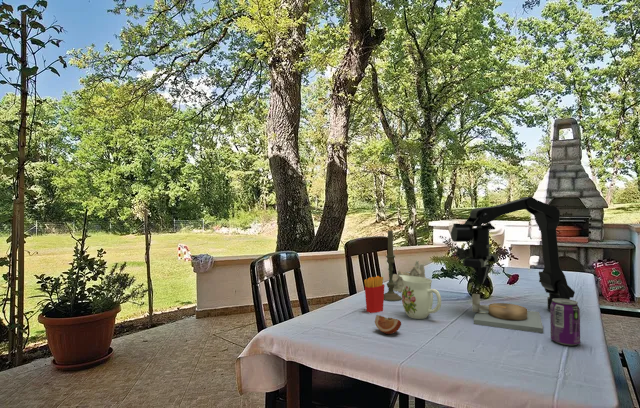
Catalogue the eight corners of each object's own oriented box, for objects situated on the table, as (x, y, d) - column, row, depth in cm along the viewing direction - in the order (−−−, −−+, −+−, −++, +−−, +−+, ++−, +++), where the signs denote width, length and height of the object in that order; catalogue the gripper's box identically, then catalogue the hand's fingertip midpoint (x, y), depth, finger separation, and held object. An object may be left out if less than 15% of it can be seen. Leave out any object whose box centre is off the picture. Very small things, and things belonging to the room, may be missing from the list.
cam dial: (524, 311, 129) (524, 294, 129) (530, 321, 118) (530, 302, 118) (471, 307, 135) (471, 290, 135) (472, 316, 124) (472, 298, 124)
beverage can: (585, 348, 100) (584, 304, 100) (557, 346, 102) (556, 303, 102) (573, 338, 107) (572, 298, 107) (546, 337, 109) (546, 297, 109)
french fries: (378, 307, 142) (378, 274, 143) (387, 309, 139) (386, 276, 139) (361, 311, 137) (361, 277, 137) (369, 314, 133) (369, 279, 134)
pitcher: (430, 326, 119) (430, 284, 120) (390, 313, 134) (389, 276, 134) (450, 320, 126) (450, 280, 126) (409, 308, 140) (409, 273, 141)
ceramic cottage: (433, 288, 175) (430, 257, 175) (418, 296, 162) (415, 263, 163) (403, 286, 185) (401, 257, 185) (388, 293, 172) (385, 262, 173)
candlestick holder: (404, 297, 158) (404, 229, 158) (397, 302, 150) (396, 230, 151) (385, 295, 163) (384, 228, 163) (376, 299, 155) (376, 229, 155)
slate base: (539, 316, 130) (539, 311, 130) (543, 333, 112) (543, 328, 112) (475, 308, 140) (475, 304, 140) (470, 323, 122) (470, 318, 122)
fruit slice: (371, 332, 114) (370, 316, 114) (383, 327, 119) (383, 311, 119) (393, 338, 108) (393, 322, 109) (405, 333, 113) (405, 317, 113)
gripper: (468, 238, 147) (469, 277, 147) (449, 242, 133) (449, 284, 133) (497, 240, 139) (498, 281, 139) (480, 244, 125) (480, 289, 125)
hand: (481, 283), depth 134 cm, fingers closed
